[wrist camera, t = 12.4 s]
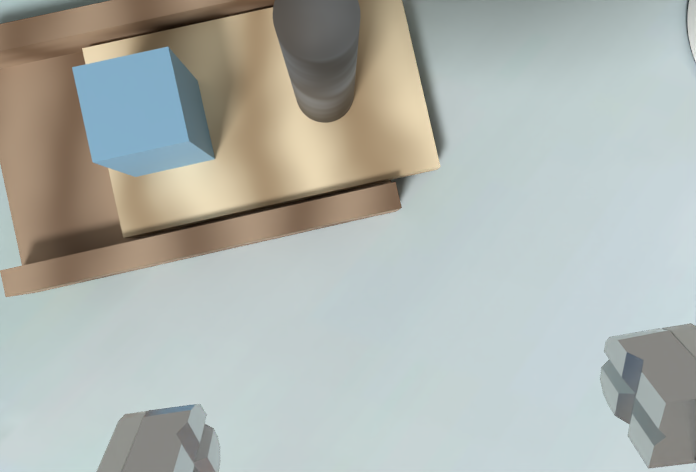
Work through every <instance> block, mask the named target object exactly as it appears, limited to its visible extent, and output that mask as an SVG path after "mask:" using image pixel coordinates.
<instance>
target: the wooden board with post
mask: <svg viewBox="0 0 696 472" xmlns="http://www.w3.org/2000/svg"><path fill="white" fill-rule="evenodd" d="M164 47H169V48H170V49H171V50H172V52H173V53H174V54H175V55H176V56H177V57H178V58H179V60H180V61H181V62H182V63H183V64H184V65H185V67H186V68H187V69H188V70H189V71H190V72H191V74H192V75H193V76H194V77H195V78H196V79H197V80H198V84H199V89H200V93H201V98H202V102H203V107H204V111H205V116H206V120H207V125H208V129H209V134H210V138H211V143H212V147H213V152H214V156H215V159H214V160H210V161H205V162H201V163H196V164H192V165H187V166H183V167H178V168H174V169H169V170H165V171H160V172H156V173H151V174H147V175H142V176H138V177H134V176H131V175H128V174H125V173H122V172H119V171H116V170H113V169H110V168H108V170H109V174H110V179H111V183H112V188H113V193H114V197H115V202H116V206H117V211H118V216H119V220H120V225H121V229H122V234H123V238H134V237H138V236H143V235H147V234H152V233H156V232H161V231H165V230H170V229H174V228H179V227H183V226H187V225H192V224H196V223H201V222H205V221H210V220H214V219H219V218H223V217H228V216H232V215H236V214H241V213H245V212H250V211H254V210H259V209H263V208H268V207H272V206H277V205H281V204H286V203H290V202H294V201H299V200H303V199H308V198H312V197H317V196H321V195H326V194H330V193H335V192H339V191H343V190H348V189H352V188H357V187H361V186H366V185H370V184H375V183H379V182H384V181H388V180H393V179H397V178H401V177H406V176H410V175H415V174H419V173H424V172H428V171H433V170H437V169H438V168H440V163H439V158H438V154H437V150H436V145H435V141H434V137H433V132H432V128H431V124H430V119H429V115H428V111H427V106H426V102H425V98H424V94H423V89H422V85H421V81H420V76H419V72H418V68H417V63H416V59H415V55H414V50H413V46H412V42H411V37H410V33H409V29H408V24H407V20H406V16H405V11H404V7H403V3H402V0H275V2H274V6H273V7H272V8H267V9H262V10H258V11H253V12H248V13H244V14H239V15H234V16H230V17H225V18H221V19H216V20H211V21H207V22H202V23H197V24H193V25H188V26H184V27H179V28H174V29H170V30H165V31H160V32H156V33H151V34H146V35H142V36H137V37H133V38H128V39H123V40H119V41H114V42H109V43H105V44H100V45H96V46H91V47H86V48H82V50H83V55H84V59H85V64H90V63H94V62H99V61H104V60H108V59H113V58H117V57H122V56H127V55H131V54H136V53H140V52H145V51H150V50H154V49H159V48H164Z"/></svg>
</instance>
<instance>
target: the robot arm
mask: <svg viewBox="0 0 696 472" xmlns="http://www.w3.org/2000/svg"><path fill="white" fill-rule="evenodd" d="M687 22H688V35H689V41H690V46H691V50H692V53H693V56H694V59H695V62H696V0H689V5H688V19H687ZM604 352H605V354H606V355H607V357H608V358H609V360H608V361H607V362H606V363H605V364H604V365H603V366H602V367H601V376H600V381H601V386H602V391H603V394H604V397H605V399H606V401H607V403H608V405H609V407H610V409H611V410H612V412H613V413H614V415H615V416H616V417H618V418H620V419H621V420H623V421H625V422H626V423H628V424H629V430H628V437H629V439H630V441H631V442H632V444H633V445H634V447H635V448H636V450H637V452H638V453H639V455H640V456H641V458H642V459H643V461H644V462H645V464H646V466H647V467H648V468H656V467H664V466H673V465H681V464H690V463H696V326H695V325H693V324H684V325H678V326H672V327H666V328H662V329H660V328H658V329H652V330H647V331H641V332H635V333H629V334H623V335H618V336H612V337H609V338H608V339H607V341H606V342H605V348H604ZM205 419H206V413H205V411H204V409H203V408H202V406H201V404H194V405H187V406H179V407H172V408H164V409H157V410H149V411H144V412H137V413H130V414H125V415H124V416H123V417H122V418H121V419H120V420H119V421H118V423H117V425H116V428H115V430H114V432H113V435H112V437H111V439H110V442H109V444H108V446H107V449H106V451H105V453H104V455H103V458H102V460H101V462H100V465H99V467H98V469H97V472H219V466H220V444H219V440H218V436H217V434H216V432H215V430H214V428H212V427H210V426H208V425H206V424H204V423H205Z"/></svg>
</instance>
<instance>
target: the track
mask: <svg viewBox="0 0 696 472" xmlns="http://www.w3.org/2000/svg"><path fill="white" fill-rule="evenodd" d="M274 2H275V0H110V1H105V2H101V3H96V4H91V5H87V6H82V7H77V8H73V9H68V10H63V11H59V12H54V13H49V14H45V15H40V16H35V17H31V18H26V19H21V20H17V21H12V22H7V23H3V24H0V164H1V169H2V173H3V178H4V183H5V187H6V192H7V197H8V201H9V206H10V211H11V215H12V220H13V225H14V229H15V234H16V239H17V243H18V248H19V253H20V258H21V262H22V266H19V267H14V268H10V269H5V270H1V271H0V272H1V277H2V282H3V286H4V291H5V296H6V297H10V296H17V295H23V294H30V293H36V292H41V291H45V290H50V289H54V288H59V287H63V286H67V285H72V284H76V283H81V282H85V281H90V280H94V279H98V278H103V277H107V276H112V275H116V274H121V273H125V272H129V271H134V270H138V269H143V268H147V267H152V266H156V265H160V264H165V263H169V262H174V261H178V260H183V259H187V258H191V257H196V256H200V255H205V254H209V253H214V252H218V251H222V250H227V249H231V248H236V247H240V246H245V245H249V244H254V243H258V242H262V241H267V240H271V239H276V238H280V237H285V236H289V235H293V234H298V233H302V232H307V231H311V230H316V229H320V228H324V227H329V226H333V225H338V224H342V223H347V222H351V221H355V220H360V219H364V218H369V217H373V216H378V215H382V214H386V213H391V212H395V211H397V210H399V209H401V208H402V207H401V203H400V199H399V194H398V190H397V186H396V182H393V183H391V180H388V181H384V182H379V183H375V184H370V185H366V186H361V187H357V188H352V189H348V190H343V191H339V192H335V193H330V194H326V195H321V196H317V197H312V198H308V199H303V200H299V201H294V202H290V203H286V204H281V205H277V206H272V207H268V208H263V209H259V210H254V211H250V212H245V213H241V214H236V215H232V216H228V217H223V218H219V219H214V220H210V221H205V222H201V223H196V224H192V225H187V226H183V227H179V228H174V229H170V230H165V231H161V232H156V233H152V234H147V235H143V236H138V237H134V238H123V234H122V229H121V225H120V220H119V216H118V211H117V206H116V202H115V197H114V193H113V188H112V183H111V179H110V174H109V170H108V168H107V167H104V166H101V165H98V164H96V163H93V162H92V157H91V153H90V148H89V143H88V139H87V134H86V130H85V125H84V120H83V116H82V111H81V107H80V102H79V97H78V93H77V88H76V84H75V79H74V74H73V70H72V67H76V66H80V65H85V59H84V55H83V50H82V48H86V47H91V46H96V45H100V44H105V43H109V42H114V41H119V40H123V39H128V38H133V37H137V36H142V35H146V34H151V33H156V32H160V31H165V30H170V29H174V28H179V27H184V26H188V25H193V24H197V23H202V22H207V21H211V20H216V19H221V18H225V17H230V16H234V15H239V14H244V13H248V12H253V11H258V10H262V9H267V8H272V7H273V6H274Z"/></svg>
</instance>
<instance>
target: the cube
mask: <svg viewBox="0 0 696 472" xmlns="http://www.w3.org/2000/svg"><path fill="white" fill-rule="evenodd" d="M72 70H73V74H74V79H75V84H76V88H77V93H78V97H79V102H80V107H81V111H82V116H83V120H84V125H85V130H86V134H87V139H88V143H89V148H90V153H91V157H92V162H93V163H96V164H98V165H101V166H104V167H107V168H110V169H113V170H116V171H119V172H122V173H125V174H128V175H131V176H134V177H138V176H142V175H147V174H151V173H156V172H160V171H165V170H169V169H174V168H178V167H183V166H187V165H192V164H196V163H201V162H205V161H210V160H214V159H215V156H214V152H213V147H212V143H211V138H210V134H209V129H208V125H207V120H206V116H205V111H204V107H203V102H202V98H201V93H200V89H199V84H198V80H197V79H196V78H195V77H194V76H193V75H192V74H191V72H190V71H189V70H188V69H187V68H186V67H185V65H184V64H183V63H182V62H181V61H180V60H179V58H178V57H177V56H176V55H175V54H174V53H173V52H172V50H171V49H170V48H169V47H164V48H159V49H154V50H150V51H145V52H140V53H136V54H131V55H127V56H122V57H117V58H113V59H108V60H104V61H99V62H94V63H90V64H85V65H80V66H76V67H72Z"/></svg>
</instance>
